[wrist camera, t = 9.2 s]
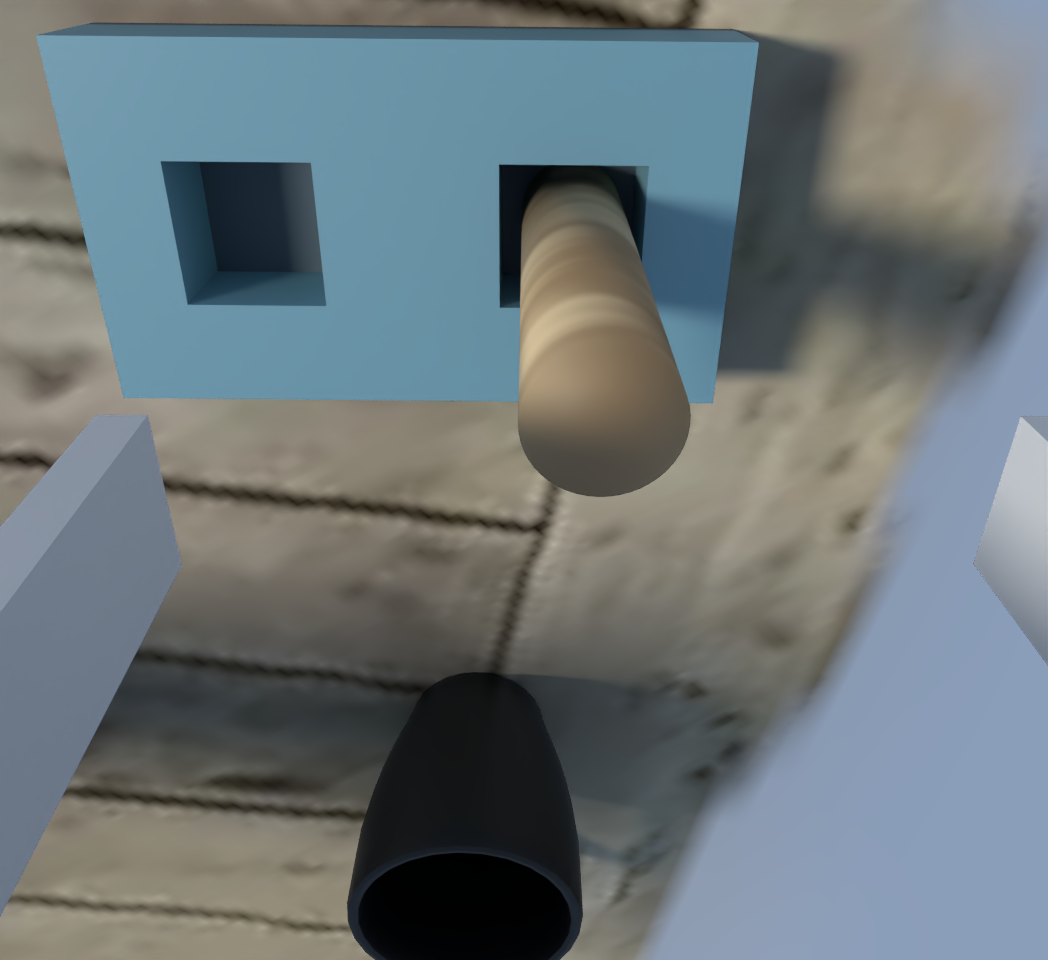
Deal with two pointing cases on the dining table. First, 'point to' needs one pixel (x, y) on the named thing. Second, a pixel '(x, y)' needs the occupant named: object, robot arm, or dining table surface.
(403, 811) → the mug
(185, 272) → the bore slab
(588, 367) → the dowel
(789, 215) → the dining table surface
